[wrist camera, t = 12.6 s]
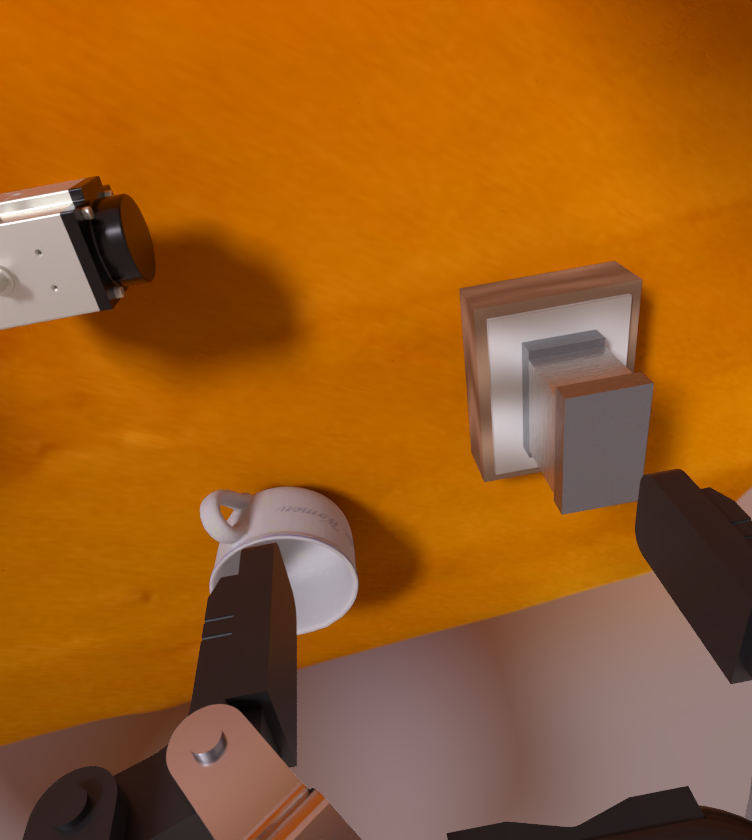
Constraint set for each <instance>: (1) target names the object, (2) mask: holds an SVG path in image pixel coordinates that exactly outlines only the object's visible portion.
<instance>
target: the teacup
mask: <svg viewBox="0 0 752 840" xmlns="http://www.w3.org/2000/svg"><path fill="white" fill-rule="evenodd" d="M220 505H223V506H226V507H229V508H231V509H234V511H233V512H232V514H231V515H230V517H229V518H228V520H227V521H226V520H225V519H224V517H223V516H222V514H221V511H220ZM200 517H201V520H202V524H203V526H204V528H205V529H206V531H207V532H208V533H209V534H210V536H211V537H213V538H214V539H215V540H217V541H219V542H220V543H219V547H218V552H217V557H216V562H215V567H214V569H213V572H212V574H211V578H210V594H211V593H212V591H213V589H214V588H215V586H216V584H217V583H218V581H219V580H220V578H221V577H226V576H232V575H237V574H238V572H239V563H240V555H241V550H242V549H243V548H248V547H254V546H259V545H265V544H270V543H275V542H276V543H277V544H278V546H279V549H280V552H281V555H282V559H283V562H284V565H285V568H286V571H287V575H288V578H289V581H290V584H291V587H292V591H293V595H294V600H295V606H296V617H297V635H299V634H304V633H308V632H313V631H316V630H318V629H322V628H325V627H327V626H329V625H330V624H332V623H333V622H335V621H337V620H338V619H339V618H341V617H342V616H343V615H344V614H345V613H346V612H347V611H348V610H349V609H350V608H351V606H352V605H353V603H354V601H355V599H356V596H357V592H358V575H357V572H356V563H355V551H354V544H353V537H352V532H351V529H350V526H349V523H348V521H347V519H346V517H345V515H344V514H343V512H342V511H341V510H340V508H339V507H338V506H337V505H336V504H335V503H334V502H332V501H331V500H330V499H328V498H327V497H325V496H324V495H322V494H320V493H317V492H315V491H312V490H309V489H305V488H300V487H276V488H271V489H267V490H264V491H261V492H258V493H256V494H254V495H251V494H249V493H241V494H240V493H237V492H234V491H231V490H217V491H214V492H212V493H211V494H209V495H208V496H207V497H206V498H205V499H204V500H203V501H202V503H201V506H200Z"/></svg>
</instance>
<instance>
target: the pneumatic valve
mask: <svg viewBox="0 0 752 840" xmlns="http://www.w3.org/2000/svg"><path fill="white" fill-rule="evenodd" d="M155 267H156V266H155V255H154V250H153V245H152V241H151V237H150V234H149V231H148V228H147V225H146V222H145V220H144V218H143V215H142V213H141V211H140V209H139V208H138V206H137V204H136V203H135V201H134V200H133V199H132V198H131V197H130V196H129V195H127V194H119V195H114V193H113V192H112V191H111V188H110V186H109V184H108V185H102V183H101V180H100V177H99V176H95V177H89V178H84V179H78V180H73V181H68V182H62V183H57V184H51V185H46V186H40V187H35V188H29V189H24V190H19V191H13V192H8V193H2V194H0V330H2V329H7V328H13V327H18V326H23V325H29V324H34V323H39V322H45V321H50V320H56V319H61V318H66V317H72V316H77V315H82V314H88V313H93V312H98V311H104V310H109V309H113V308H114V307H115V306H116V304H117V303H118V301H119V300H120V298H123V297H124V296H125V291H126V290H127V289H128V287H129V286H133V285H138V284H143V283H149V282H151V281H152V280H153V279H154V276H155Z"/></svg>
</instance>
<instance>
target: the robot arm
mask: <svg viewBox="0 0 752 840" xmlns="http://www.w3.org/2000/svg"><path fill="white" fill-rule="evenodd" d="M635 534H636V540H637V543H638V546H639V549H640V551H641V553H642V555H643V556H644V558H645V559H646V561H647V562H648V564H649V565H650V567H651V568H652V570H653V571H654V573H655V574H656V576H657V577H658V578H659V580H660V581H661V583H662V584H663V586H664V587H665V589H666V590H667V592H668V593H669V595H670V596H671V597H672V599H673V600H674V602H675V603H676V605H677V606H678V607H679V609H680V611H681V612H682V613H683V615H684V616H685V618H686V619H687V621H688V622H689V624H690V625H691V626H692V628H693V630H694V631H695V632H696V634H697V635H698V637H699V638H700V639H701V641H702V643H703V644H704V646H705V647H706V649H707V650H708V651H709V653H710V654H711V656H712V657H713V659H714V660H715V662H716V663H717V665H718V666H719V667H720V669H721V670H722V672H723V673H724V675H725V676H726V678H727V679H728V681H729V682H730V684H734V683H739V682H744V681H750V680H752V521H751V518H750V517H749V516H748V515H747V514H746V513H745V512H744V511H743V510H742V509H741V508H740V507H739V505H737V503H736V502H735V501H733V500H732V499H730V498H728V497H726V496H724V495H723V494H721V493H719V492H717V491H715V490H714V489H712V488H710V487H709V488H704V489H700V488H699V487H698V486H697V485H696V484H695V483H694V482H693V481H692V480H691V478H690V477H689V476H688V475H687V474H686V473H685V472H684V471H682V470H680V469H674V470H669V471H663V472H658V473H653V474H647V475H644V476H642V478H641V480H640V486H639V495H638V505H637V514H636V523H635ZM294 766H297V617H296V606H295V600H294V595H293V591H292V587H291V584H290V581H289V578H288V575H287V571H286V568H285V565H284V562H283V559H282V555H281V552H280V549H279V546H278V544H277V543H276V542H275V543H270V544H265V545H259V546H254V547H248V548H243V549H242V550H241V555H240V563H239V572H238V574H237V575H232V576H226V577H221V578H220V580H219V581H218V583H217V584H216V586H215V588H214V589H213V591H212V593H211V594H210V596H209V597H208V602H207V608H206V614H205V624H204V627H203V633H202V642H201V645H200V651H199V658H198V664H197V670H196V676H195V683H194V689H193V695H192V701H191V707H190V711H189V714H188V717H187V718H186V719H185V720H184V721H183V722H182V723H181V724H180V725H179V726H178V727H177V729H176V730H175V732H174V733H173V735H172V737H171V739H170V741H169V744H168V745H167V746H166V747H164V748H163V749H162V750H160V751H159V752H158V753H156V754H154V755H153V756H151V757H149V758H147V759H145V760H143V761H141V762H139V763H137V764H135V765H134V766H132V767H130V768H128V769H126V770H124V771H122V772H120V773H118V774H116V775H114V776H112V774H111V773H110V772H109V771H108V770H106V769H104V768H101V767H97V766H89V767H83V768H80V769H77V770H74V771H72V772H70V773H68V774H66V775H65V776H63V777H62V778H60V779H59V780H57V782H55V783H54V784H53V785H52V786H51V787H50V788H48V790H47V791H46V792H45V793H44V794H43V795H42V796H41V798H40V799H39V801H38V802H37V804H36V805H35V807H34V809H33V811H32V813H31V815H30V817H29V820H28V823H27V826H26V830H25V833H24V837H23V840H362V839H361V838H360V837H359V836H358V835H357V833H356V832H355V831H354V830H353V829H352V828H351V827H350V826H349V824H348V823H347V822H346V821H345V820H344V819H343V818H342V816H341V815H340V814H339V813H338V812H337V811H336V810H335V808H334V807H333V806H332V805H331V804H330V803H329V802H328V801H327V800H326V798H324V797H323V795H321V794H320V793H319V792H318V791H317V790H316V789H313V788H312V789H311V790H310V789H308V788H307V787H306V786H305V785H304V784H303V783H302V782H301V781H300V780H299V779H298V778H297V776H296V775H295V774H294V773H293V772H292V771H291V770H290V768H289V767H294ZM447 838H448V840H752V780H751V788H750V795H749V800H748V804H747V809H746V814H745V818H743V817H741V816H739V815H736V814H733V813H730V812H727V811H724V810H720V809H716V808H711V807H707V806H699V805H698V804H697V802H696V800H695V798H694V796H693V794H692V792H691V791H690V789H689V787H688V786H686V787H680V788H675V789H670V790H665V791H660V792H655V793H650V794H645V795H640V796H635V797H629V798H628V799H626V800H624V801H622V802H620V803H618V804H617V805H615V806H613V807H611V808H609V809H608V810H606V811H604V812H602V813H601V814H598V815H597V816H595V817H593V818H591V819H589V820H588V821H586V822H584V823H582V824H581V825H578V826H575V827H560V826H548V825H538V824H527V823H516V822H503V823H498V824H492V825H487V826H482V827H477V828H472V829H467V830H461V831H456V832H451V833H447Z"/></svg>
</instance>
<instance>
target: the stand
mask: <svg viewBox="0 0 752 840" xmlns="http://www.w3.org/2000/svg"><path fill="white" fill-rule="evenodd" d="M641 288H642V279H641V278H639V277H638V276H636V275H635V274H633V273H632V272H630V271H629V270H627V269H626V268H624V267H623V266H621V265H620V264H618V263H617V262H615V261H612V262H607V263H601V264H595V265H590V266H584V267H579V268H573V269H567V270H562V271H556V272H551V273H545V274H539V275H534V276H528V277H523V278H517V279H512V280H506V281H500V282H495V283H489V284H484V285H478V286H472V287H467V288H461V289H460V302H461V316H462V329H463V343H464V356H465V370H466V383H467V397H468V410H469V424H470V437H471V451H472V455H473V457H474V459H475V461H476V464H477V466H478V468H479V471H480V473H481V475H482V478H483V480H484V482H488V481H493V480H499V479H504V478H510V477H515V476H520V475H526V474H531V473H537V472H541V470H540V468H539V467H538V465H537V463H536V462H535V460H534V458H533V457H532V458H529V456H528V454H527V453H526V451H525V449H524V447H523V396H522V342H528V341H533V340H539V339H545V338H550V337H556V336H562V335H567V334H573V333H578V332H584V331H590V330H595V329H596V330H597V331H599V332H600V333H601V334H602V335H603V336H604V337H605V347H606V348H607V349H608V350H609V351H610V352H611V353H612V354H613V355H614V356H615V357H616V358H617V359H618V360H620V361H621V362H622V363H623V364H624V365H625V366H626V367H627V368H628V369H629V370H630V371H631V372H632V373H634V364H635V353H636V342H637V331H638V320H639V310H640V299H641Z"/></svg>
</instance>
